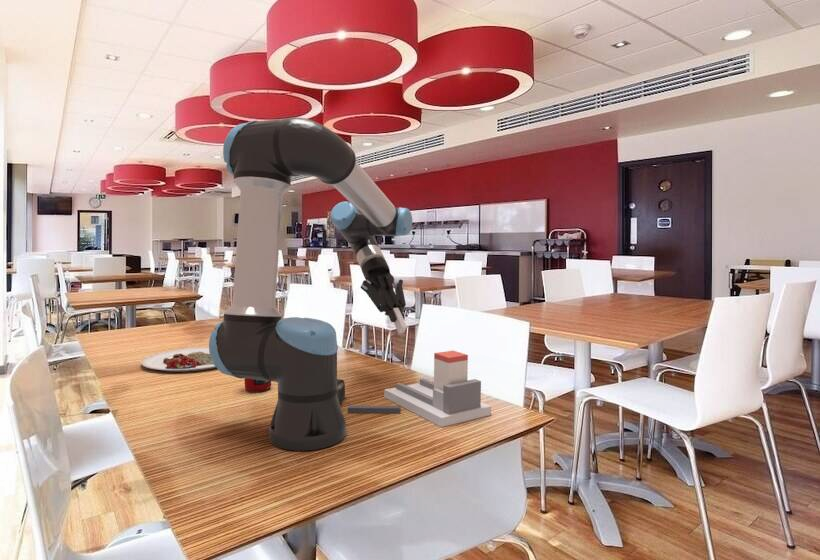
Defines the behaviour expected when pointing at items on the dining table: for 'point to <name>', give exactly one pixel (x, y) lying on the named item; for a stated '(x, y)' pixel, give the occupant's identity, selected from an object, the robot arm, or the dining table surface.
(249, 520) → the dining table surface
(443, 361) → the toggle
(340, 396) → the mobile phone
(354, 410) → the gray rectangular bar
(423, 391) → the gray railed slide base
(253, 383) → the beverage can
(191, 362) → the plated food
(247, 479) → the dining table surface
